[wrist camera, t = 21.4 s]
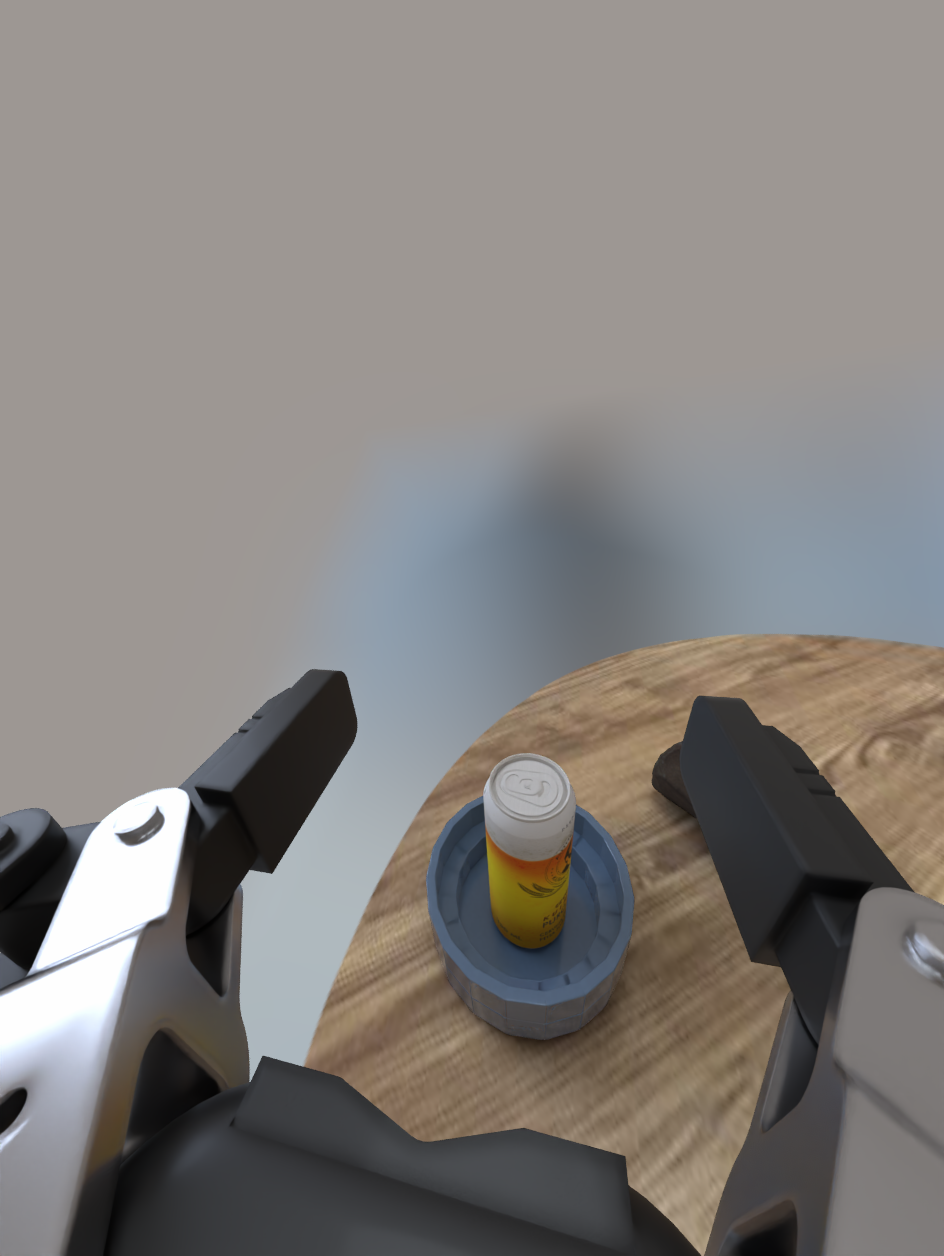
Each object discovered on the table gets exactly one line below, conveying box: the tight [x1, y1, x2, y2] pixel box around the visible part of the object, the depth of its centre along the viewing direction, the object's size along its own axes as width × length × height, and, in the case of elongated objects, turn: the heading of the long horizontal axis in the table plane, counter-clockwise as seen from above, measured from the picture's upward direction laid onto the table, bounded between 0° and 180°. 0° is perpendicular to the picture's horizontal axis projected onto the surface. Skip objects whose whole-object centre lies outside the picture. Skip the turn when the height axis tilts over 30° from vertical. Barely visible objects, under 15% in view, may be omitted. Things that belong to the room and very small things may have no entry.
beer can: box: [483, 753, 576, 949], centre depth 28 cm, size 6×6×15 cm
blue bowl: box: [426, 796, 634, 1040], centre depth 31 cm, size 15×15×6 cm
